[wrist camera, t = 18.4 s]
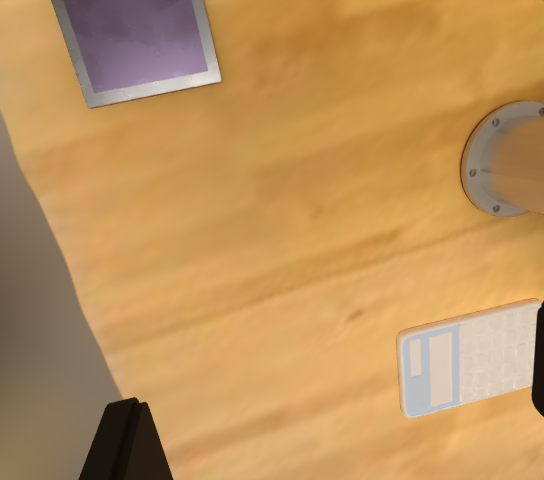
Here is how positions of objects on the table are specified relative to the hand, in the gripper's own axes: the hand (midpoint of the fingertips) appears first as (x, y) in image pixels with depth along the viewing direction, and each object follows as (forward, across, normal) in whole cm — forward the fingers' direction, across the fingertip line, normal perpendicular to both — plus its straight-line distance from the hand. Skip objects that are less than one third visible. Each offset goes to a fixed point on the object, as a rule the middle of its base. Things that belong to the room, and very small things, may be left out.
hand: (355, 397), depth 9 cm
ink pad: (+32, +7, -16) cm, 36 cm away
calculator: (+33, -25, +28) cm, 50 cm away
